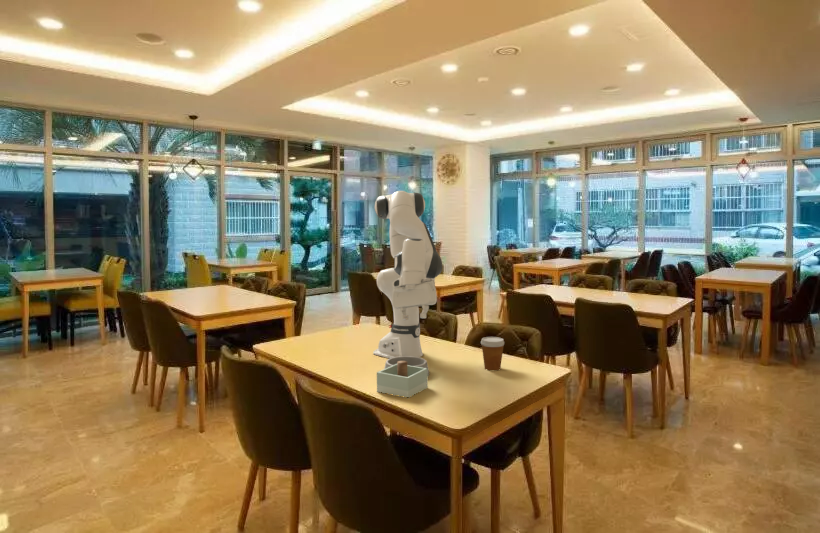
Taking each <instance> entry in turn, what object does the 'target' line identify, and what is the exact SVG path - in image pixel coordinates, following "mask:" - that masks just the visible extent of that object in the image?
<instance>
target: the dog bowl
mask: <svg viewBox="0 0 820 533" xmlns="http://www.w3.org/2000/svg"><path fill="white" fill-rule="evenodd" d="M398 361H407V365H410V366H416V367H422V368H427V370H428V377H429V376H430V374H429V373H430V369H429V366H428V361H427V360H426V359H425V358H424V357H423V358H422V357H414V356H399V357H393V358H387V359H386V361H385V363H384V368H383V369H385V368H388V367H390V366H392V365H395V364H397V362H398Z"/></svg>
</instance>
